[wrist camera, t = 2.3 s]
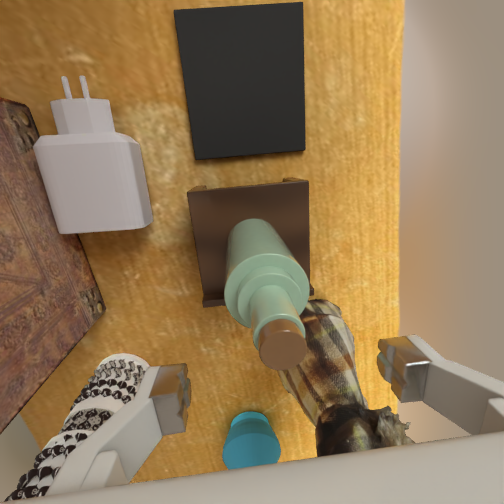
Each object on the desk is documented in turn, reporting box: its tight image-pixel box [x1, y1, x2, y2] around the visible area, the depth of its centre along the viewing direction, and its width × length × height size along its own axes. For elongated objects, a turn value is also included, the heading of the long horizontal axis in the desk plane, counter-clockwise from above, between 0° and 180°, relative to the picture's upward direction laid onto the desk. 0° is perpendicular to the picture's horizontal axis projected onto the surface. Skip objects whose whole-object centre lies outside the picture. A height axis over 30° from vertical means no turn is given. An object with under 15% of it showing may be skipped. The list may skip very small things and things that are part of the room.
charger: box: [33, 75, 153, 234], centre depth 27 cm, size 5×9×15 cm
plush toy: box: [277, 299, 415, 457], centre depth 28 cm, size 14×14×25 cm
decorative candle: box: [4, 353, 150, 502], centre depth 28 cm, size 9×9×25 cm
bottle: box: [224, 219, 310, 370], centre depth 19 cm, size 6×6×16 cm
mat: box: [174, 2, 305, 160], centre depth 28 cm, size 14×13×1 cm
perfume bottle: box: [222, 411, 281, 470], centre depth 38 cm, size 9×9×15 cm
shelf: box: [187, 177, 314, 308], centre depth 30 cm, size 12×12×8 cm
